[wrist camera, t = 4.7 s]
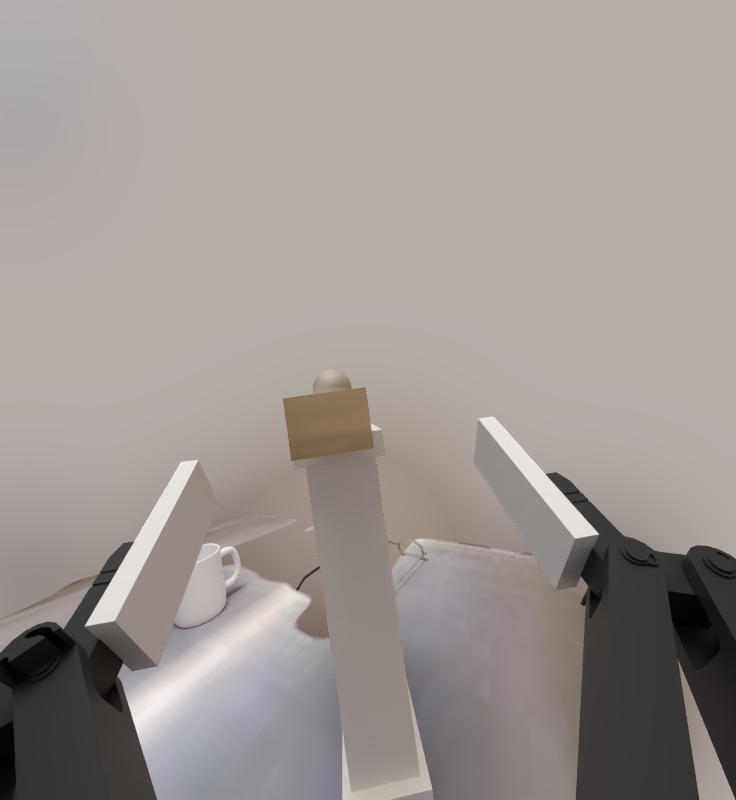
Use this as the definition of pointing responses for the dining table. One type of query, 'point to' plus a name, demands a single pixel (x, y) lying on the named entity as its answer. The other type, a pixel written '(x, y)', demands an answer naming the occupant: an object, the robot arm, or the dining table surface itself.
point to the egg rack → (328, 418)
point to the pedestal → (365, 629)
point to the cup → (206, 587)
